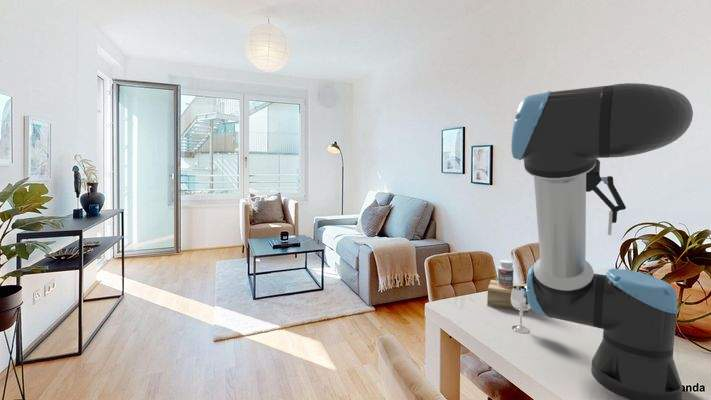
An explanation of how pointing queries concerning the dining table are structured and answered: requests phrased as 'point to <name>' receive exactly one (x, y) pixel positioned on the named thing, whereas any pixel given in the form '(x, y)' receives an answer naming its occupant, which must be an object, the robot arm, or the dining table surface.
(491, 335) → the dining table surface
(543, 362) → the dining table surface
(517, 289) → the wineglass
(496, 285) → the lid
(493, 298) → the crate
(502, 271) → the pill bottle
